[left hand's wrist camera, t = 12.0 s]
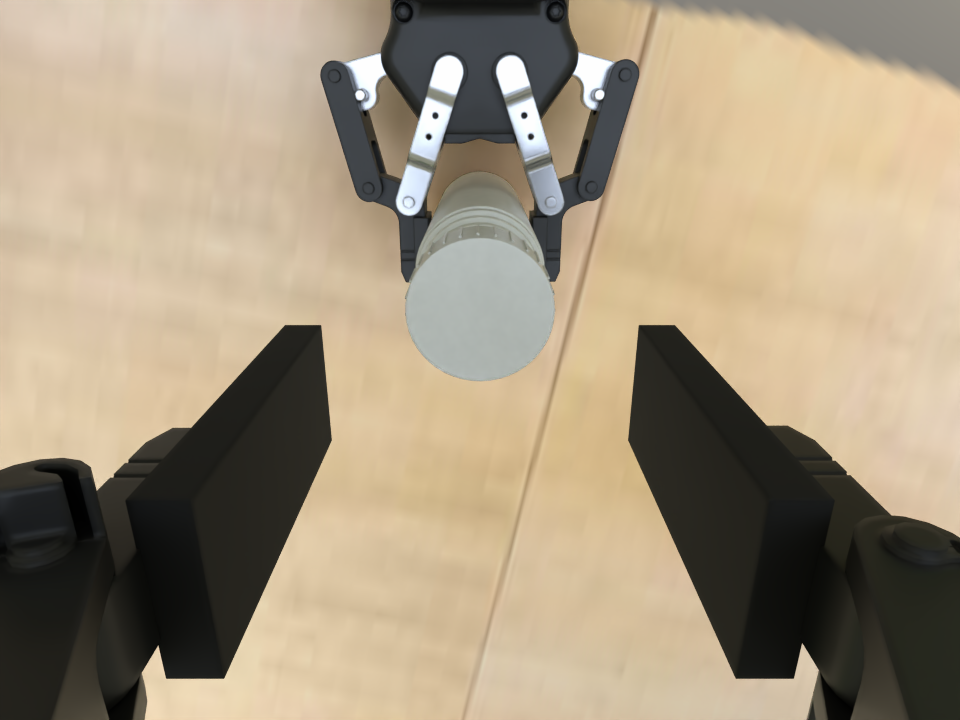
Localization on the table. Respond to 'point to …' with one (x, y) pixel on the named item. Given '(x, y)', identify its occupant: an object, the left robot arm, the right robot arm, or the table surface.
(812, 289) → the table surface
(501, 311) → the cap
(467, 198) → the bottle
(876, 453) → the table surface
